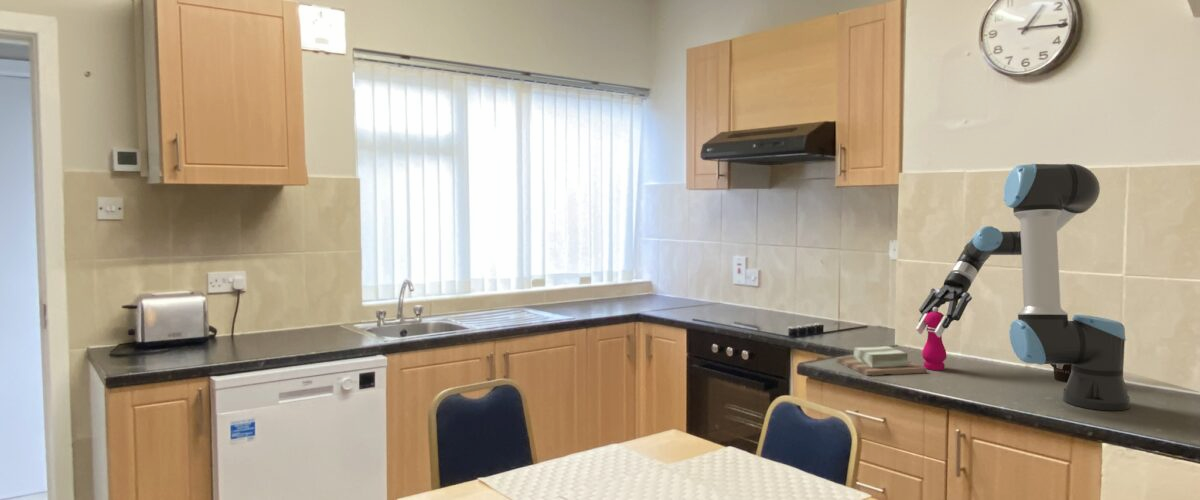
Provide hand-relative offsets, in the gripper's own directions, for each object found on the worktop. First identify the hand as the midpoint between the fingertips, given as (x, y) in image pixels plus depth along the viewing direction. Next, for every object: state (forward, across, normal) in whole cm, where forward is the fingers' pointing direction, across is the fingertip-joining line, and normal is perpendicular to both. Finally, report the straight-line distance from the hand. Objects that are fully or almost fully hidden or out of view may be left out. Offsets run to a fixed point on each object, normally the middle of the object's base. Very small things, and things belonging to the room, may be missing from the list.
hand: (927, 333), depth 242 cm
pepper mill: (+6, 0, -11) cm, 13 cm away
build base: (+15, +11, -2) cm, 18 cm away
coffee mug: (-8, -30, -26) cm, 40 cm away
